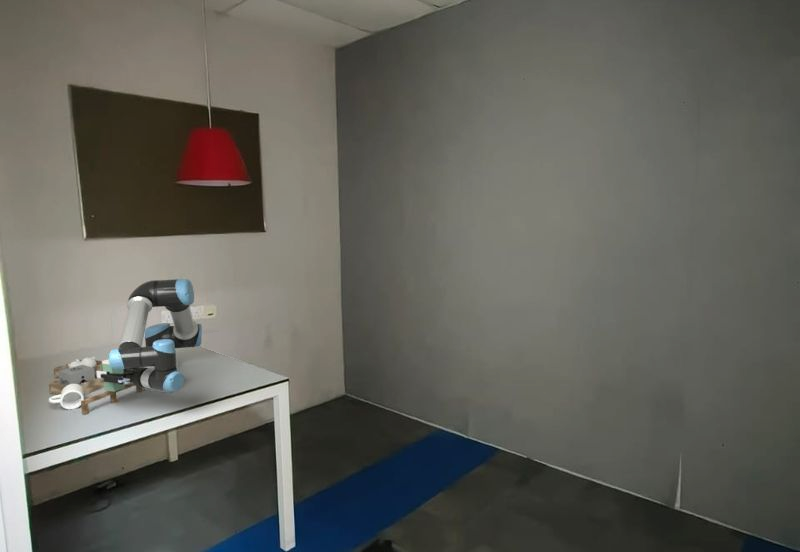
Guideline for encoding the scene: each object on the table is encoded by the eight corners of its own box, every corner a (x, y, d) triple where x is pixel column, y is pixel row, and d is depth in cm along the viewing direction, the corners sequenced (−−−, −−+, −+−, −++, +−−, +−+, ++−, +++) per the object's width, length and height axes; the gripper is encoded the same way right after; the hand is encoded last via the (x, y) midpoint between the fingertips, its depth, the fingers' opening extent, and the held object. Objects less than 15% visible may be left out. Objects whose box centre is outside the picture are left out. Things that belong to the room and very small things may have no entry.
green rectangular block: (115, 386, 199) (113, 357, 198) (125, 387, 197) (122, 358, 196) (104, 390, 194) (101, 361, 193) (113, 391, 192) (111, 362, 191)
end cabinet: (149, 384, 224) (147, 359, 223) (180, 388, 218) (178, 362, 217) (137, 389, 218) (134, 363, 217) (168, 394, 212) (166, 367, 210)
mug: (84, 399, 207) (83, 381, 206) (84, 407, 198) (82, 388, 197) (50, 406, 200) (48, 387, 199) (48, 414, 192) (46, 394, 191)
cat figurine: (67, 358, 236) (95, 352, 244) (66, 365, 244) (94, 359, 251) (70, 375, 233) (99, 368, 241) (69, 381, 241) (97, 375, 249)
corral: (85, 368, 251) (84, 358, 250) (138, 375, 238) (137, 365, 238) (19, 389, 221) (18, 378, 220) (75, 397, 209) (74, 386, 208)
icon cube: (60, 392, 216) (58, 370, 215) (84, 385, 224) (82, 364, 223) (71, 396, 211) (69, 374, 210) (96, 389, 219) (94, 368, 218)
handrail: (139, 391, 216) (138, 379, 215) (142, 391, 215) (141, 379, 215) (82, 414, 191) (80, 401, 190) (85, 414, 190) (83, 401, 190)
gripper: (128, 395, 181) (83, 388, 189) (166, 379, 198) (124, 374, 206) (126, 375, 180) (82, 369, 188) (165, 361, 197) (122, 356, 205)
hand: (104, 371), depth 197 cm, fingers closed on green rectangular block, 5 cm apart
